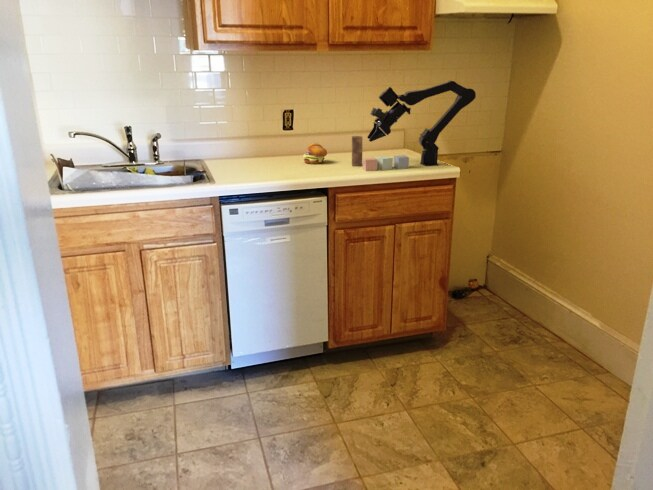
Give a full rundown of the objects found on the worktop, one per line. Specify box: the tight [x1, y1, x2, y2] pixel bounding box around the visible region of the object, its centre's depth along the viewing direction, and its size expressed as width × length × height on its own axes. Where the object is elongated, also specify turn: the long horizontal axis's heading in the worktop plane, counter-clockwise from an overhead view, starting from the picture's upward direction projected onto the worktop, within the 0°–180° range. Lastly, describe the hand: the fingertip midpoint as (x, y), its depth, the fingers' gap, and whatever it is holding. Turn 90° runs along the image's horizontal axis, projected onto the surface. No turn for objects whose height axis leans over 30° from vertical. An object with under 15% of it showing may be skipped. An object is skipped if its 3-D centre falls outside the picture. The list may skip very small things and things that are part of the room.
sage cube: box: [376, 155, 394, 171], centre depth 242 cm, size 5×5×5 cm
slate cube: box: [393, 154, 410, 170], centre depth 244 cm, size 5×5×5 cm
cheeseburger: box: [302, 142, 328, 165], centre depth 257 cm, size 10×11×10 cm
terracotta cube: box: [362, 156, 378, 172], centre depth 240 cm, size 5×5×5 cm
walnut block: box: [351, 135, 363, 167], centre depth 248 cm, size 4×4×13 cm
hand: (368, 139), depth 247 cm, fingers open, 9 cm apart
